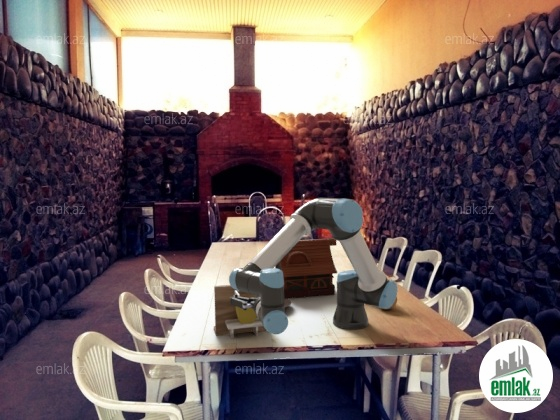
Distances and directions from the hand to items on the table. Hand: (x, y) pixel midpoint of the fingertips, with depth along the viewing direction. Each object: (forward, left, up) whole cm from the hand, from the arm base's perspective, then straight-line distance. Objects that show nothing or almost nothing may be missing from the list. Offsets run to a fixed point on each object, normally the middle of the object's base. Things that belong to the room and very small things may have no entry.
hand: (253, 292), depth 172 cm
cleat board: (+11, -5, -20) cm, 23 cm away
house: (+28, -71, -20) cm, 79 cm away
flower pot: (+7, -3, -14) cm, 16 cm away
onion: (-21, -70, -20) cm, 76 cm away
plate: (+26, -34, -20) cm, 47 cm away
